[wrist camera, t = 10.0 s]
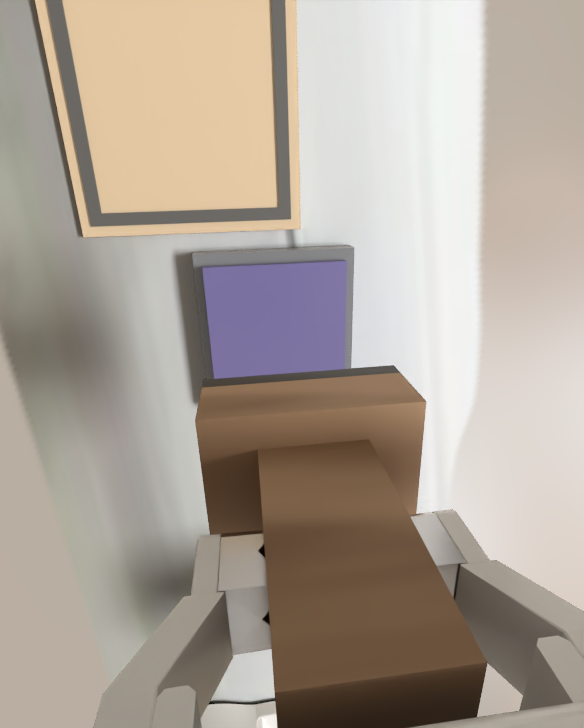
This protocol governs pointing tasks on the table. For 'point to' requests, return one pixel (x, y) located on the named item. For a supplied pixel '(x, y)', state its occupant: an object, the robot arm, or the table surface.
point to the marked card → (177, 113)
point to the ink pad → (275, 310)
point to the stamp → (340, 545)
